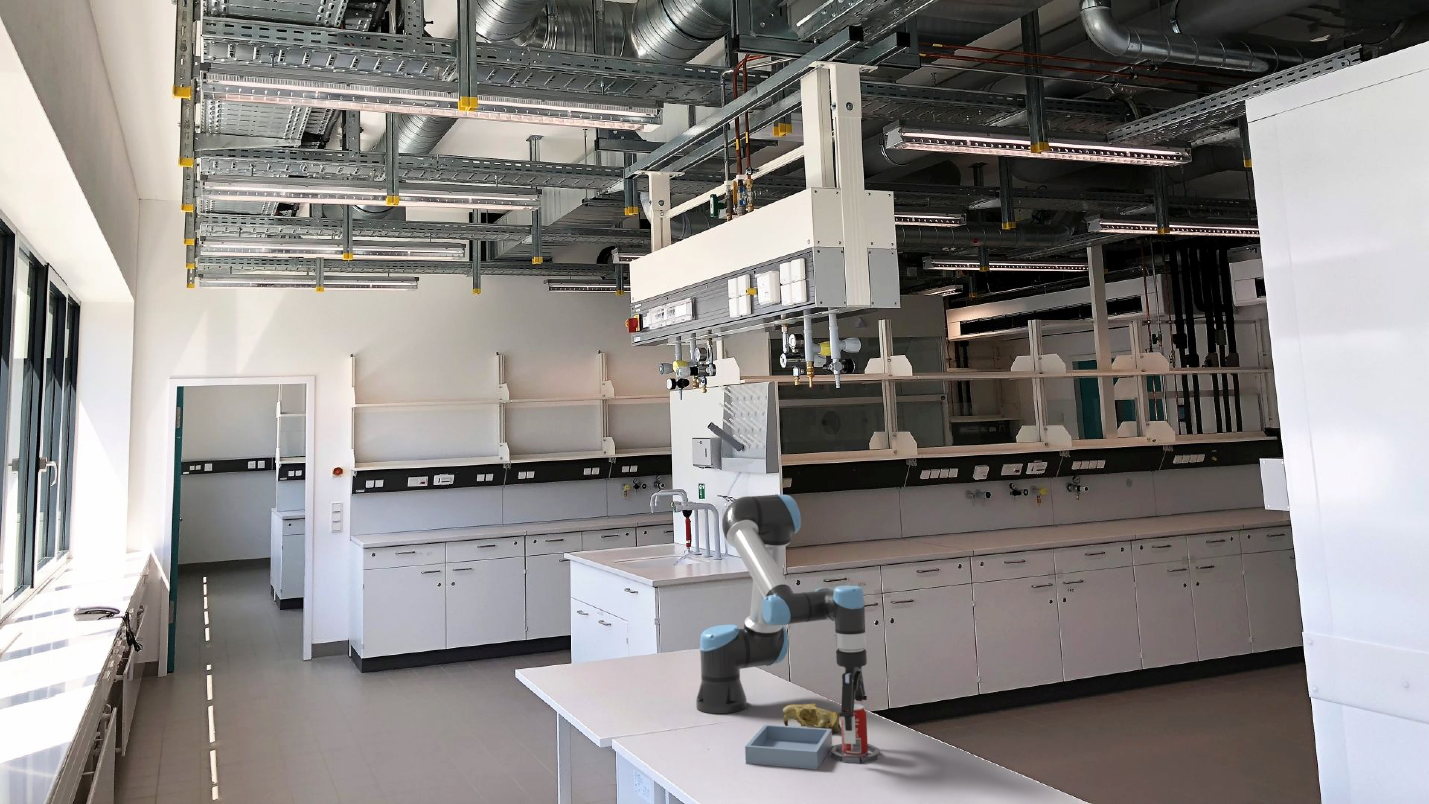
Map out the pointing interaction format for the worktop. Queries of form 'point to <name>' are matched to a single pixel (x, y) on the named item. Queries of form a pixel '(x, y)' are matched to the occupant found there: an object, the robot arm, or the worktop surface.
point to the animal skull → (812, 716)
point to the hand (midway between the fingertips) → (854, 734)
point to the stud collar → (855, 759)
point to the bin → (789, 746)
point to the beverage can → (857, 734)
